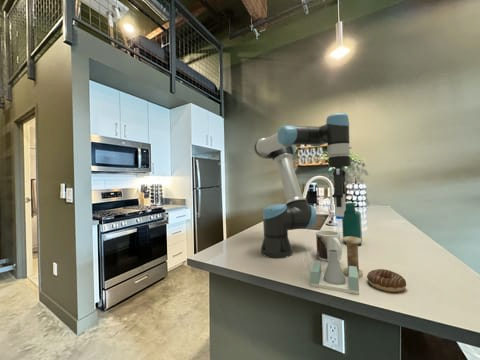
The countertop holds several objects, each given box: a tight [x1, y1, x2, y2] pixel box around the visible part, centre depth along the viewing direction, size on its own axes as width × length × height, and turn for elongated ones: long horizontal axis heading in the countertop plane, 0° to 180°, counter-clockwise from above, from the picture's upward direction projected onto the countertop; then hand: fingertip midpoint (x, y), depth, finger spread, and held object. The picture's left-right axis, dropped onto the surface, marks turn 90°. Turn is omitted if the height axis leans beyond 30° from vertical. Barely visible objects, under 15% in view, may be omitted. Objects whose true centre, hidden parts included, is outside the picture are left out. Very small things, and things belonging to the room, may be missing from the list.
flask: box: [323, 249, 346, 284], centre depth 72 cm, size 7×7×10 cm
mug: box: [315, 229, 343, 262], centre depth 94 cm, size 10×12×11 cm
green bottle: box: [341, 202, 363, 246], centre depth 113 cm, size 10×8×22 cm
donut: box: [366, 268, 407, 293], centre depth 69 cm, size 11×11×4 cm
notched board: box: [310, 261, 360, 295], centre depth 71 cm, size 14×9×5 cm, turn 64°
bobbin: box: [342, 236, 364, 278], centre depth 78 cm, size 6×6×13 cm
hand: (340, 213), depth 79 cm, fingers open, 13 cm apart
